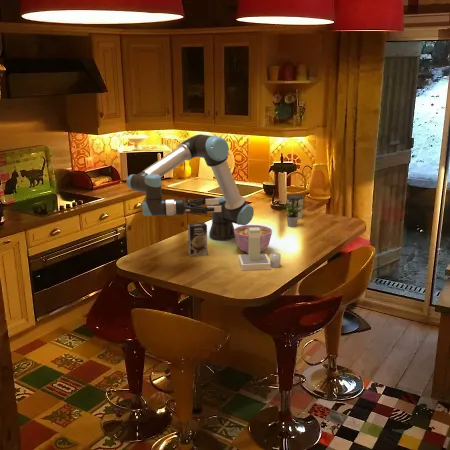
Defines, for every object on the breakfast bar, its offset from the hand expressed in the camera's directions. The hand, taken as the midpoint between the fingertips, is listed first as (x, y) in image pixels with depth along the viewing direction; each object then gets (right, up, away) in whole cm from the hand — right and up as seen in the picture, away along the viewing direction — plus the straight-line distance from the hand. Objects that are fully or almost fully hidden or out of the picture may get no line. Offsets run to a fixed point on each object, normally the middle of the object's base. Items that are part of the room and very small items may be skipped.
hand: (220, 205), depth 256 cm
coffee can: (+47, -5, +89) cm, 100 cm away
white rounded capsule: (+27, -30, +6) cm, 40 cm away
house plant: (+44, -11, +69) cm, 82 cm away
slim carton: (+17, -26, +6) cm, 31 cm away
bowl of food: (+17, -24, +27) cm, 39 cm away
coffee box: (-12, -25, +24) cm, 36 cm away
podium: (+17, -29, +7) cm, 34 cm away
